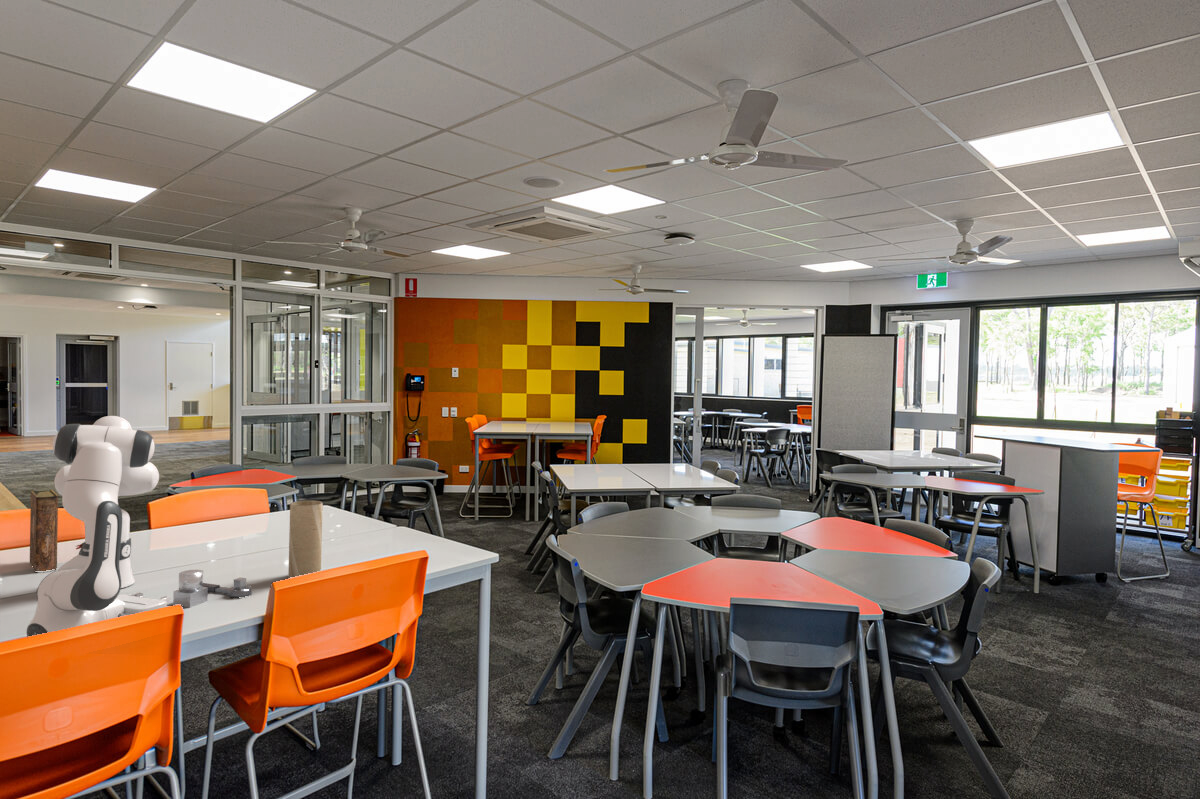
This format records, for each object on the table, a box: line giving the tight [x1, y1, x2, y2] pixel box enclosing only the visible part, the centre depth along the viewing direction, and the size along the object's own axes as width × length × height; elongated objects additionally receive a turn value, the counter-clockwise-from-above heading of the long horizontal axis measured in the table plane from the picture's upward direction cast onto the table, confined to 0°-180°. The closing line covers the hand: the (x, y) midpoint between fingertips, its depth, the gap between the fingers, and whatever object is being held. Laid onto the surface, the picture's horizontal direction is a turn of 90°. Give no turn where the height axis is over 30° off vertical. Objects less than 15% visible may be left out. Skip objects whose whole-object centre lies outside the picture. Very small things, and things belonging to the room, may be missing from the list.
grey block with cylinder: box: [172, 569, 209, 608], centre depth 187 cm, size 6×6×9 cm
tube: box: [287, 499, 324, 579], centre depth 215 cm, size 10×10×25 cm
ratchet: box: [203, 576, 253, 599], centre depth 197 cm, size 19×6×5 cm, turn 76°
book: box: [29, 489, 59, 572], centre depth 216 cm, size 16×6×25 cm, turn 47°
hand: (154, 597), depth 176 cm, fingers open, 8 cm apart
